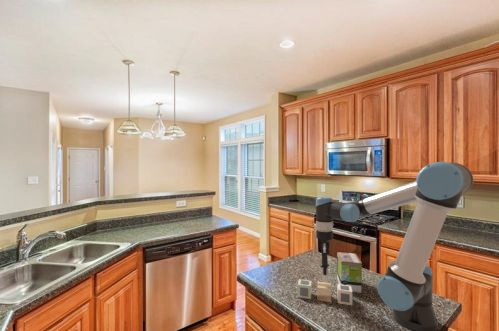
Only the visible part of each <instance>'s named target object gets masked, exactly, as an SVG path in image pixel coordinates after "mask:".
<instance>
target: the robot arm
mask: <svg viewBox="0 0 499 331" xmlns="http://www.w3.org/2000/svg"><path fill="white" fill-rule="evenodd" d="M473 185H474V175H473V173H472V171H471V170H470V169H469V168H468V167H467V166H465V165H463V164H461V163H458V162H447V161H435V162H433V163H432V162H431V163H429V164H427V165H425V166H424V167H422V168H421V169H420V170H419V172H417V175H416V179H415V180H414V181H411V182H408V183H406V184H403V185H400V186H398V187H394V188H391V189H388V190H385V191H382V192H380V193H377V194H374V195H371V196H368V197H365V198H362V199H360V200H355V201H351V202H350V201H349V202H343V203H342V202H335V201H333V198H332V197H329V196H318V197H316V199H315V216H316V217H315V218H316V219H315V229H316V231H315V238H316V239H317V240H320V243H319V246H320V253H321V265H319V267H320V268H321V282H325V283H329V267H330V264H328V263H329V261H328V254H329V248H330V242H328V241H332V240H333V239H334V238H333V237H334V232H333V230H334V229H333V227H334V226H335V224H334V223H333V222H334V220H337V221H343V222H347V223H354V222H355V223H356V222H357V220H358V219H360V218H365V217H368V216H370V215H373V214H377V213H380V212H381V213H382V212H384V211H388V210H391V209H394V208H398V207H399V208H400V207H402V206H406V205H409V204H412V203H415V202H417V203H416V206H415V208H414V211H413V213H412V217H411V219H410V222H409V224H408V228H407V230H406V232H405V235H404V237H403V239H402V242H401V246H400V247H399V251H398V254H397V256H396V259H395V260H392V261H390V262H389V264H388V266H387V269H386V272H385V274H384V275H383V276H382V277H380V279H379V280H378V282H377V284H376V288H377V293H378V295H379V296H380V299H381V300H382V301H383V303H384V304H386V305H387V306H388V307H389V308H391V309H392V318H393V319H394V321H395V322H397V323H398V324H400V325H401V326H403V327H405V328H406V329H409V330H411V331H438V330H439V320H438V318H437V316H436V312H435V310H434V307H433V276H434V274H433V269H432V268H431V267H430V266H429V265H428V261H429V259H430V257H431V254H432V252H433V249H434V247H435V245H436V242H437V240H438V237H439V235H440V233H441V230H442V228H443V226H444V223H445V220H446V218H447V216H448V213H449V212H451V211H453V210H456V209H457V207H458V205H459V203H460V200H461V198H462V195H464V194H465V193H467V192H468V191H470V189H471V188H472V186H473Z"/></svg>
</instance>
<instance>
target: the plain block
mask: <svg viewBox="0 0 499 331" xmlns="http://www.w3.org/2000/svg"><path fill="white" fill-rule="evenodd" d="M316 289H317V292H316V293H317V294H316V295H317V296H316V298H317V301H320V302H327V303H332V283H331V282H323V281H317V286H316Z"/></svg>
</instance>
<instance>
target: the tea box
mask: <svg viewBox="0 0 499 331" xmlns="http://www.w3.org/2000/svg"><path fill="white" fill-rule="evenodd" d="M362 270H363V263H362V261H361V260H360V258H359V257H358V255H357V254H356V253H351V252H339V251H338V252H337V254H336V279H337V282H338V284H340V285H348V286H351V288H352V293H358V294H359V293H361V294H362V287H363V286H362V282H363V281H362V278H363V276H362V275H363V271H362Z"/></svg>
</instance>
